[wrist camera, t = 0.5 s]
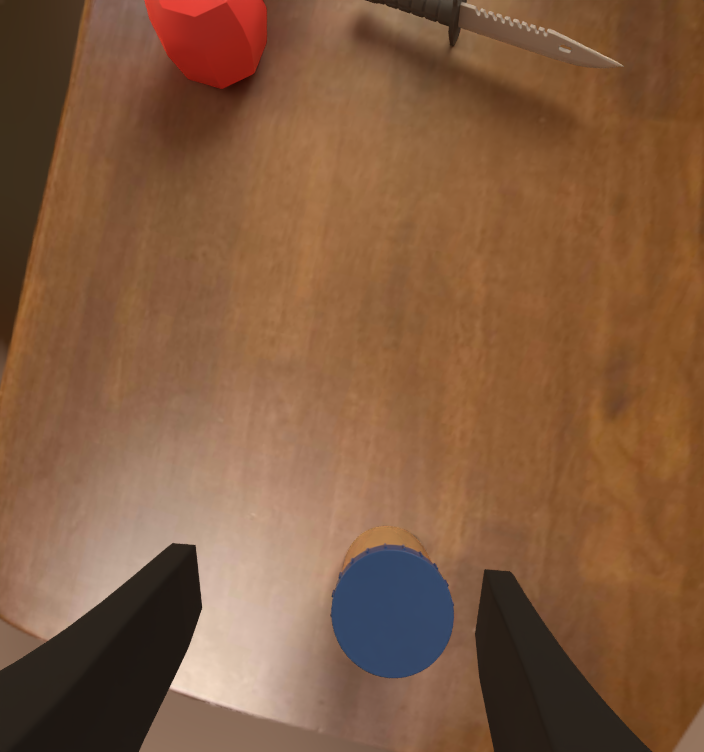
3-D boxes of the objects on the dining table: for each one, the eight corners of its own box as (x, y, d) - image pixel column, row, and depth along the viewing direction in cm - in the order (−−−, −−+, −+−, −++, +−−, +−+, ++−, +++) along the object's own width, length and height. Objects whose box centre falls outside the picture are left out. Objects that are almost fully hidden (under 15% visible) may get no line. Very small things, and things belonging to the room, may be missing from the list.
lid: (448, 671, 26) (452, 684, 24) (328, 661, 26) (326, 674, 25) (452, 547, 27) (457, 553, 25) (336, 539, 27) (334, 544, 26)
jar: (428, 619, 33) (447, 676, 25) (341, 612, 33) (331, 666, 25) (432, 528, 34) (451, 555, 26) (346, 523, 34) (338, 547, 26)
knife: (615, 77, 37) (648, 18, 32) (602, 106, 36) (634, 50, 32) (370, -4, 40) (365, -70, 35) (356, 22, 39) (350, -40, 34)
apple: (170, 12, 40) (119, -96, 32) (274, 3, 39) (249, -109, 31) (172, 109, 38) (120, 22, 31) (279, 100, 38) (255, 9, 30)
